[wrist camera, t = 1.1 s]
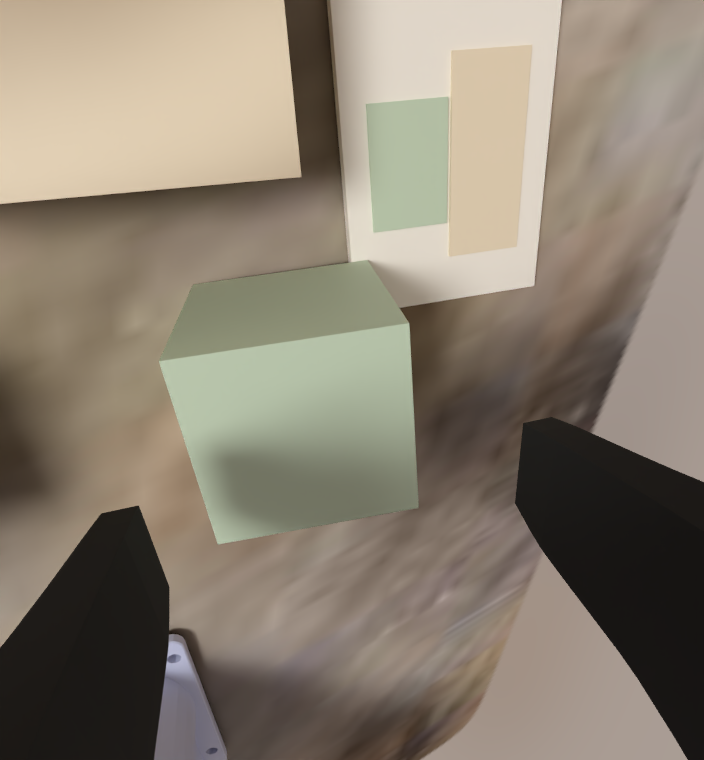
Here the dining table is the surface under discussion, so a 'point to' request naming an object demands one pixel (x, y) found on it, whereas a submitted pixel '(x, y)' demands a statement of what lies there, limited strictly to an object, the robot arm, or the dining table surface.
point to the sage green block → (295, 399)
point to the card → (444, 139)
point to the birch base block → (143, 96)
